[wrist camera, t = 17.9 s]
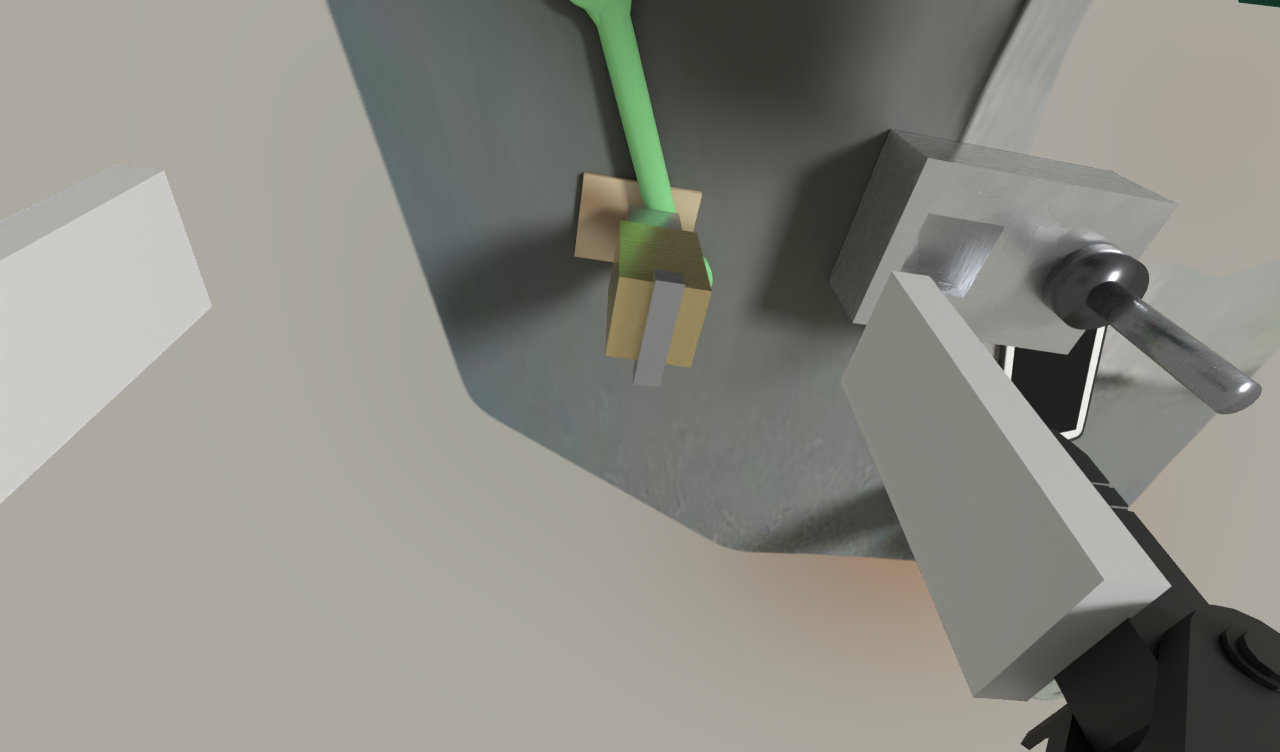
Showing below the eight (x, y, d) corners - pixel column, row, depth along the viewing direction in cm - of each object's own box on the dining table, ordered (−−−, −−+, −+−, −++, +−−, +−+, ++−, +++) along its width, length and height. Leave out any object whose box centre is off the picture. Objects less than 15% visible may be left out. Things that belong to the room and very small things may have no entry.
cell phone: (1104, 299, 46) (1113, 305, 46) (1076, 432, 55) (1082, 440, 54) (1000, 323, 48) (1006, 330, 47) (988, 450, 56) (993, 457, 55)
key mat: (584, 171, 39) (584, 173, 39) (701, 191, 40) (702, 193, 40) (574, 253, 43) (574, 256, 42) (682, 270, 44) (683, 273, 43)
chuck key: (622, 183, 38) (621, 274, 27) (692, 196, 38) (718, 289, 28) (608, 268, 41) (602, 379, 30) (672, 278, 42) (689, 391, 31)
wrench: (631, -123, 31) (534, -90, 31) (631, -128, 29) (530, -94, 30) (718, 295, 44) (650, 312, 45) (722, 307, 43) (651, 325, 43)
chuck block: (890, 129, 38) (1049, 250, 24) (1112, 171, 40) (1386, 307, 25) (828, 280, 44) (923, 448, 30) (1021, 310, 46) (1198, 482, 32)
